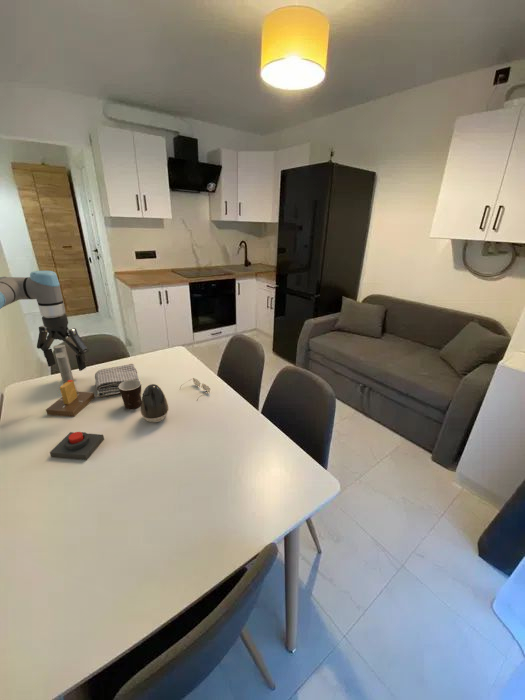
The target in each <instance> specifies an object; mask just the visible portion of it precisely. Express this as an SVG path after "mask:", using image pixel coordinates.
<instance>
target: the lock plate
mask: <svg viewBox="0 0 525 700" xmlns="http://www.w3.org/2000/svg"><path fill="white" fill-rule="evenodd" d="M76 392H77V396H78V397H77V398H76V399H75V400H74V401H73V402H71V403H70V404H64V401H63V398H62V396H61V397H60V398H59V399H57V400H56V401H55V402H54V403H52V404H51V405H50V406H48V407H47V408H46V409H45V413H46V415H47V416H58V417H72V418H74V417H76V416H77V415H78V414H79V413H80V412H81V411H83V409H85V407H87V406H88V405H89V404H90V403H91V402H92V401H93V400H95V398H96V396H95V392H90V391H77V390H76Z"/></svg>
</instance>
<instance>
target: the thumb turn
mask: <svg viewBox="0 0 525 700" xmlns="http://www.w3.org/2000/svg"><path fill="white" fill-rule="evenodd" d="M59 390H60V394H61V397H62V398H63V401H64V404H70V403H71V402H73V401H74V400H75V399H76V398H77V397H78V396H77V392H78V391H77V389H76V385H75V380H74V379H73V380H68V381H67V382H66V383H65V384H63V383H62V385H60V387H59ZM76 391H77V392H76Z"/></svg>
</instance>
